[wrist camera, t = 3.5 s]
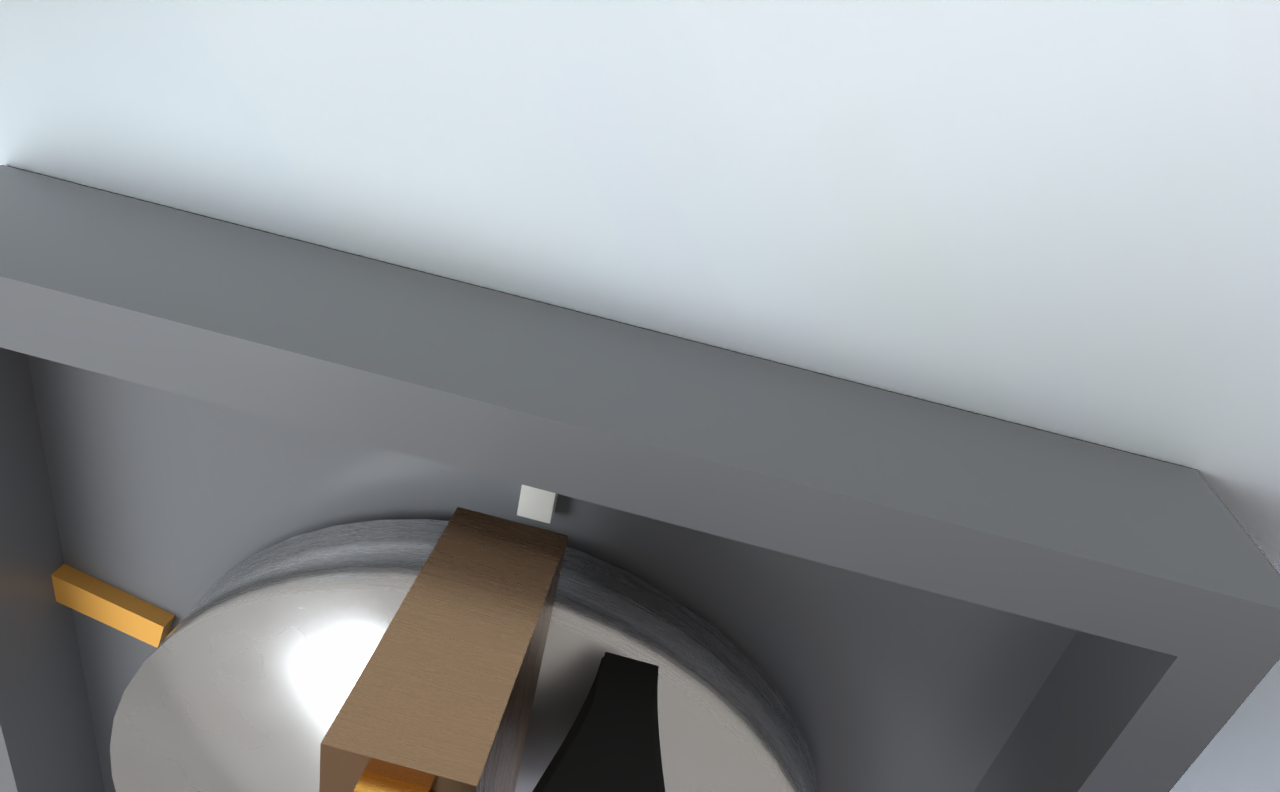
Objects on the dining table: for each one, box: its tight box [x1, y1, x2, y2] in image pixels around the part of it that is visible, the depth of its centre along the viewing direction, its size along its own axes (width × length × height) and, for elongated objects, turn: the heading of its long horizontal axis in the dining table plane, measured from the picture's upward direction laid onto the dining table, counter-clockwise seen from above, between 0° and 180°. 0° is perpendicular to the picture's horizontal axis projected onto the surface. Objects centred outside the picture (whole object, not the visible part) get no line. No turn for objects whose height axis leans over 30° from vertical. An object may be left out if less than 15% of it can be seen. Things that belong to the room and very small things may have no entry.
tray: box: [0, 165, 1280, 792], centre depth 15 cm, size 18×18×3 cm
